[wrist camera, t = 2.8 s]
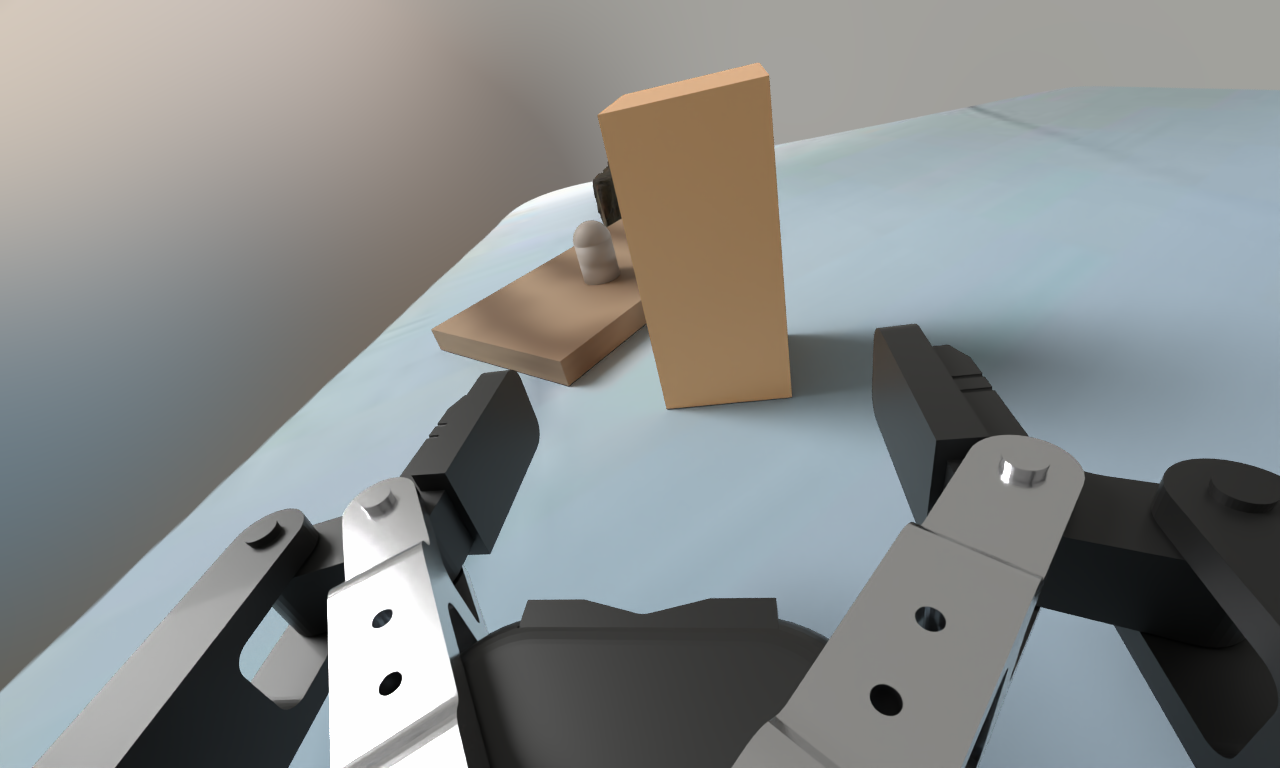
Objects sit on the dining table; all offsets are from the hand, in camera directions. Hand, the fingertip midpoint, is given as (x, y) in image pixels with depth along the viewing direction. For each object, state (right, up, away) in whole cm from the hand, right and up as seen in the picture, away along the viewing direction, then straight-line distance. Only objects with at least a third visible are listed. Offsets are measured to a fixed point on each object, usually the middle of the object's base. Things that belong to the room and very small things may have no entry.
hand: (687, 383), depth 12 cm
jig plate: (-3, +7, +24) cm, 25 cm away
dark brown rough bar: (-2, +19, +43) cm, 47 cm away
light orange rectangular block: (+3, +1, +13) cm, 13 cm away
